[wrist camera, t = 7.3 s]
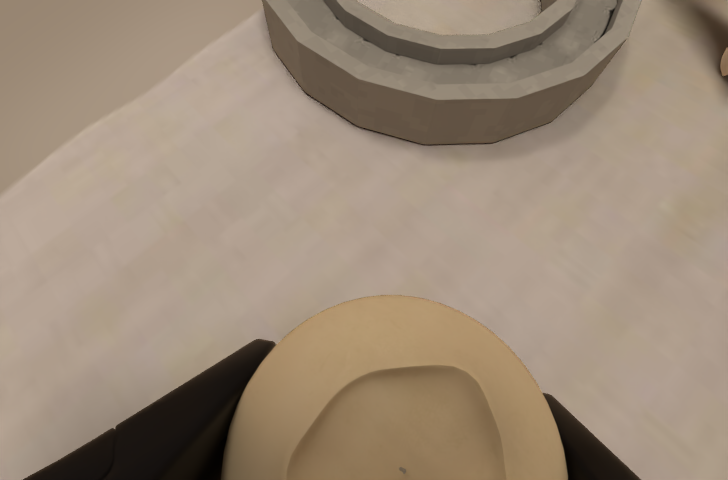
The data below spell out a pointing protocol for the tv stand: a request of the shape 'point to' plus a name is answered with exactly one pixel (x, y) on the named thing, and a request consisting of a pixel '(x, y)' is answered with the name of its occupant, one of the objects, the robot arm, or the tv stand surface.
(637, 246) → the tv stand surface
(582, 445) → the robot arm
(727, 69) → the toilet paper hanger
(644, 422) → the tv stand surface
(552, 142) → the tv stand surface
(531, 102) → the mechanical component
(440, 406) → the candle
